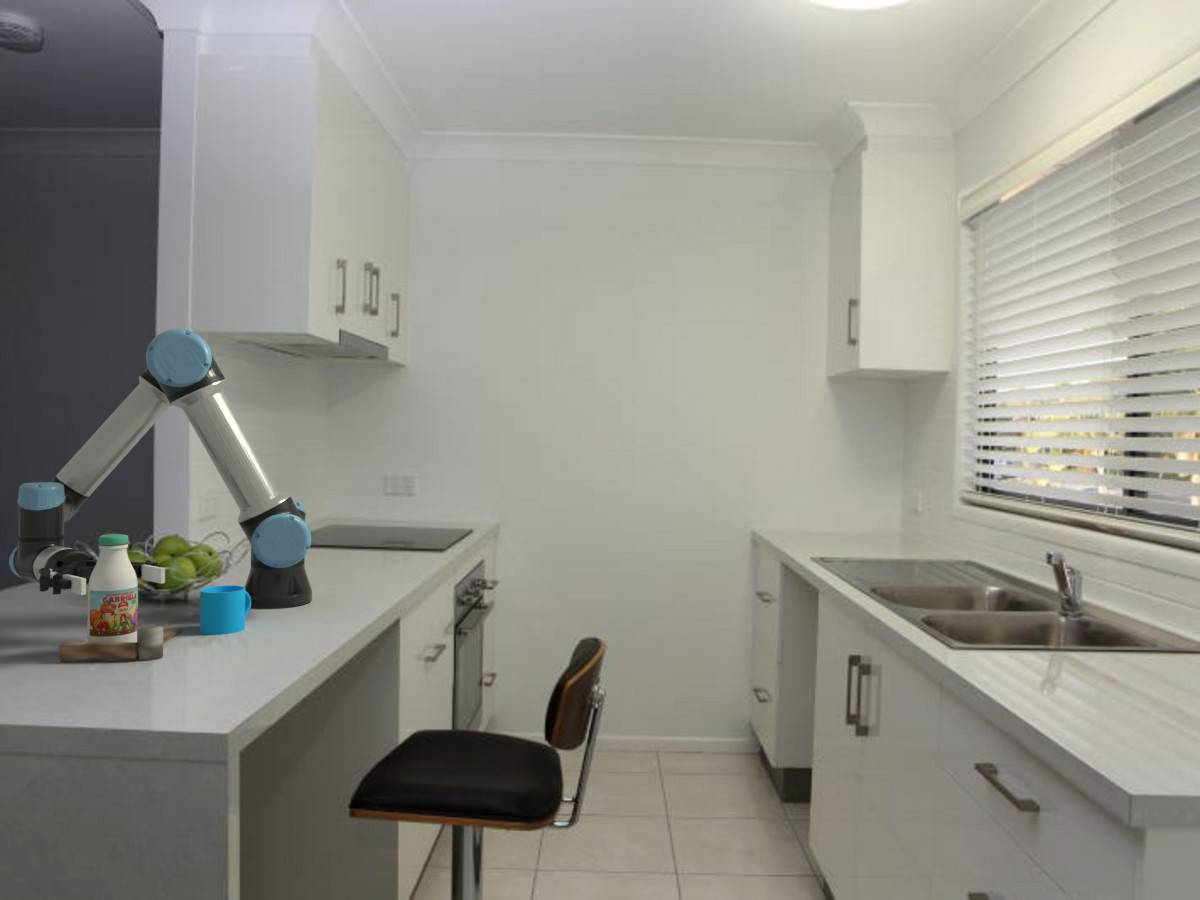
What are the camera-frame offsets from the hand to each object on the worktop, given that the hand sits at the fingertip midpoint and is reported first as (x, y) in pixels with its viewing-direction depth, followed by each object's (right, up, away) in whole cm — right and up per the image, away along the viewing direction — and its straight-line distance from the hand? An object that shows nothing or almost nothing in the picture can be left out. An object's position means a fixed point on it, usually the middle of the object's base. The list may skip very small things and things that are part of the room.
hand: (125, 581), depth 147 cm
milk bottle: (-3, -12, +2) cm, 13 cm away
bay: (-2, -13, +6) cm, 14 cm away
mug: (+9, -13, +22) cm, 27 cm away
